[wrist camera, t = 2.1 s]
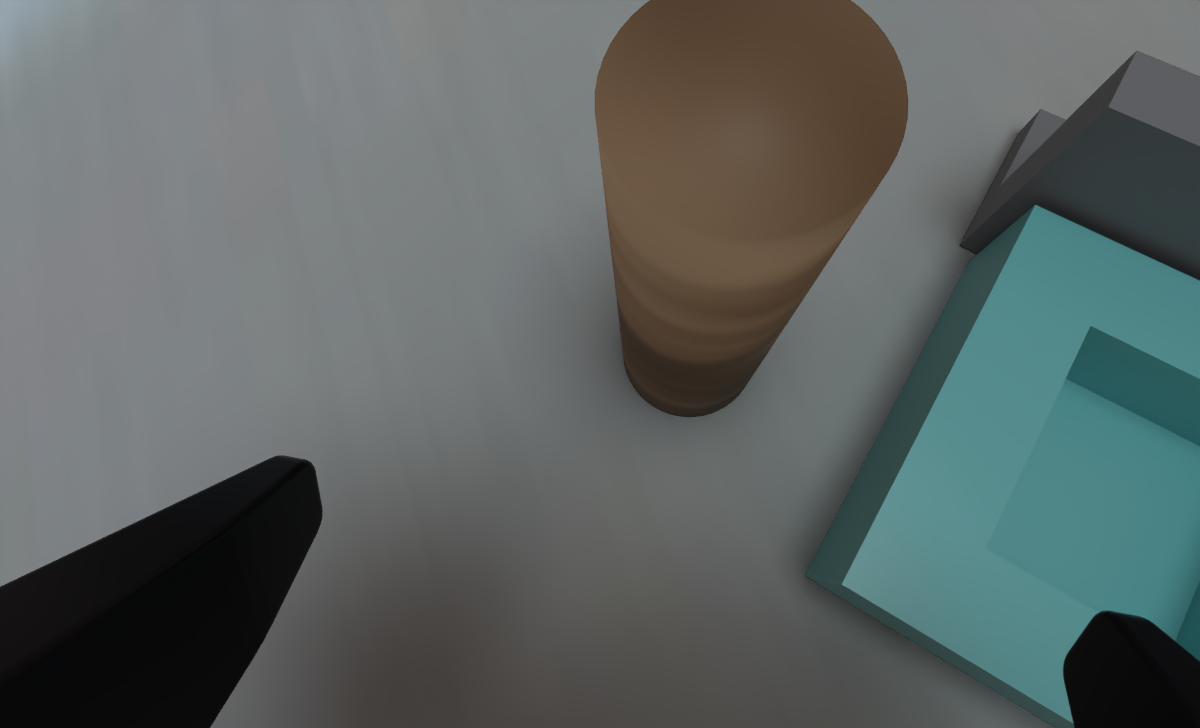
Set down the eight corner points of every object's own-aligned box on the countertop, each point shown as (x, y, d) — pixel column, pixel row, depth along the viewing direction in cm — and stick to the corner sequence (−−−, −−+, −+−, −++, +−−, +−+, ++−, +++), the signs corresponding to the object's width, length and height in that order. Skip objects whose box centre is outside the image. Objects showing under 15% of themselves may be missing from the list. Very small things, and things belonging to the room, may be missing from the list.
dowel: (683, 444, 20) (743, 302, 8) (597, 347, 21) (533, 89, 9) (781, 358, 21) (976, 102, 8) (692, 267, 22) (753, -81, 9)
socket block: (1191, 810, 17) (1347, 888, 13) (802, 575, 19) (841, 583, 15) (1330, 443, 19) (1501, 419, 15) (964, 265, 21) (1035, 204, 17)
